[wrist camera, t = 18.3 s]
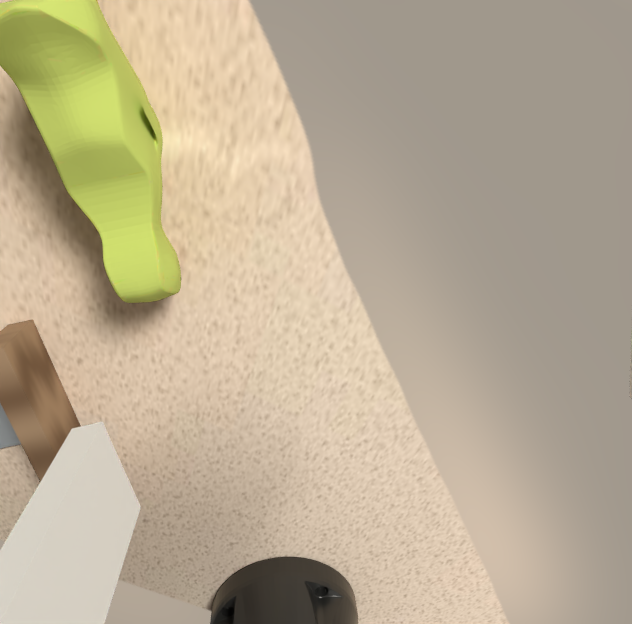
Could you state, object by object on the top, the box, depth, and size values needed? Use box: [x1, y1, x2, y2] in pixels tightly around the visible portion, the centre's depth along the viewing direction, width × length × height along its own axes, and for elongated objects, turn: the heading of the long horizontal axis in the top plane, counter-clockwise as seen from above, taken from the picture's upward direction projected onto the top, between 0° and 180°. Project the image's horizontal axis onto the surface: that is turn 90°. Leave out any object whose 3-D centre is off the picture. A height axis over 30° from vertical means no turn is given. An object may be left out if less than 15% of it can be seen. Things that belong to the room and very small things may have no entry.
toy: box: [0, 0, 181, 303], centre depth 32 cm, size 6×17×20 cm
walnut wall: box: [0, 320, 81, 482], centre depth 43 cm, size 20×2×5 cm, turn 11°
